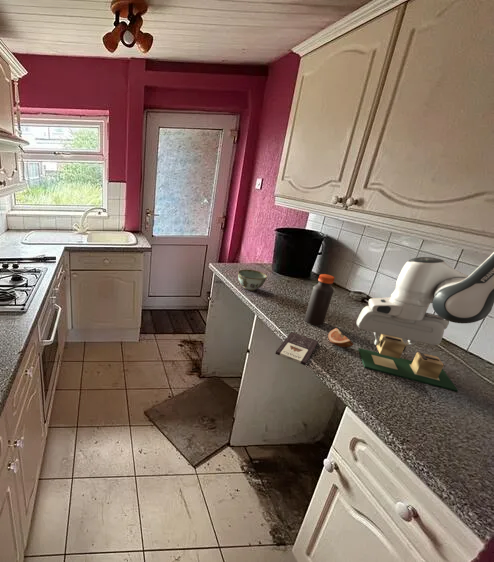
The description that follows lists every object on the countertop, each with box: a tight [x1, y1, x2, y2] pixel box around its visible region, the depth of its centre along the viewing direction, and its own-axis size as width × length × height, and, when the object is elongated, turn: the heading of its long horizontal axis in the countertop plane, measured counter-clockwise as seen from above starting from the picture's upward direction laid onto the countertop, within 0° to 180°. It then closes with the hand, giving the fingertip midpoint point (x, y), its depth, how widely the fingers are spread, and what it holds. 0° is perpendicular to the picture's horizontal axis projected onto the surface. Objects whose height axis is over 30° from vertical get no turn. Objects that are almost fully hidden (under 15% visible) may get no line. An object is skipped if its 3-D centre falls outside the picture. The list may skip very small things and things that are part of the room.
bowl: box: [237, 269, 268, 292], centre depth 157 cm, size 14×13×8 cm
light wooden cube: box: [375, 334, 406, 359], centre depth 99 cm, size 5×5×5 cm
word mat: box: [357, 347, 459, 392], centre depth 99 cm, size 22×12×1 cm, turn 62°
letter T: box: [411, 351, 445, 379], centre depth 96 cm, size 5×5×5 cm
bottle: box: [304, 273, 335, 327], centre depth 123 cm, size 7×7×20 cm
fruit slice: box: [327, 327, 354, 348], centre depth 110 cm, size 8×7×5 cm
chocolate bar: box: [274, 331, 319, 366], centre depth 108 cm, size 9×1×18 cm
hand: (389, 347), depth 99 cm, fingers closed on light wooden cube, 5 cm apart
